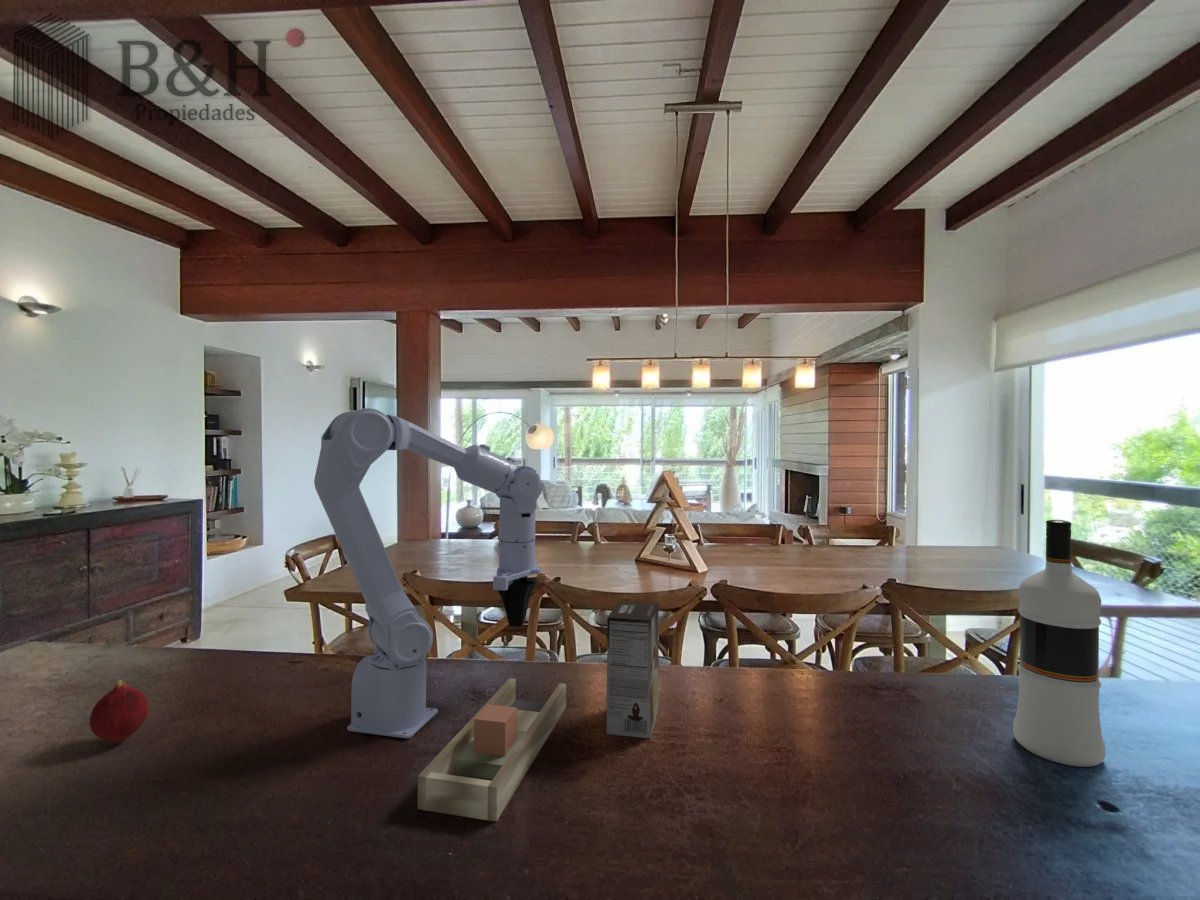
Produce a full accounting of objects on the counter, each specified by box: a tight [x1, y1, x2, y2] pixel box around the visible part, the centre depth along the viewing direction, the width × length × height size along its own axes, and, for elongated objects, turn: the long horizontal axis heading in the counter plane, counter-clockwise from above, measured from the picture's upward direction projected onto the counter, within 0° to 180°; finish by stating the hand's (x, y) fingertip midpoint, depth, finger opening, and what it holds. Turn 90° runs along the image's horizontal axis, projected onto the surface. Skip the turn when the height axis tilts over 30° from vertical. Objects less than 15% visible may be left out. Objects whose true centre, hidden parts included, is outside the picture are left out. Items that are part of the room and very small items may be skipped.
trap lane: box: [416, 677, 567, 823], centre depth 71 cm, size 9×26×4 cm, turn 168°
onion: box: [89, 679, 150, 745], centre depth 72 cm, size 6×6×8 cm
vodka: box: [1012, 519, 1106, 768], centre depth 72 cm, size 9×9×30 cm
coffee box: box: [606, 600, 660, 740], centre depth 79 cm, size 9×6×16 cm
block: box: [474, 704, 517, 756], centre depth 68 cm, size 4×4×4 cm
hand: (516, 624), depth 89 cm, fingers closed
